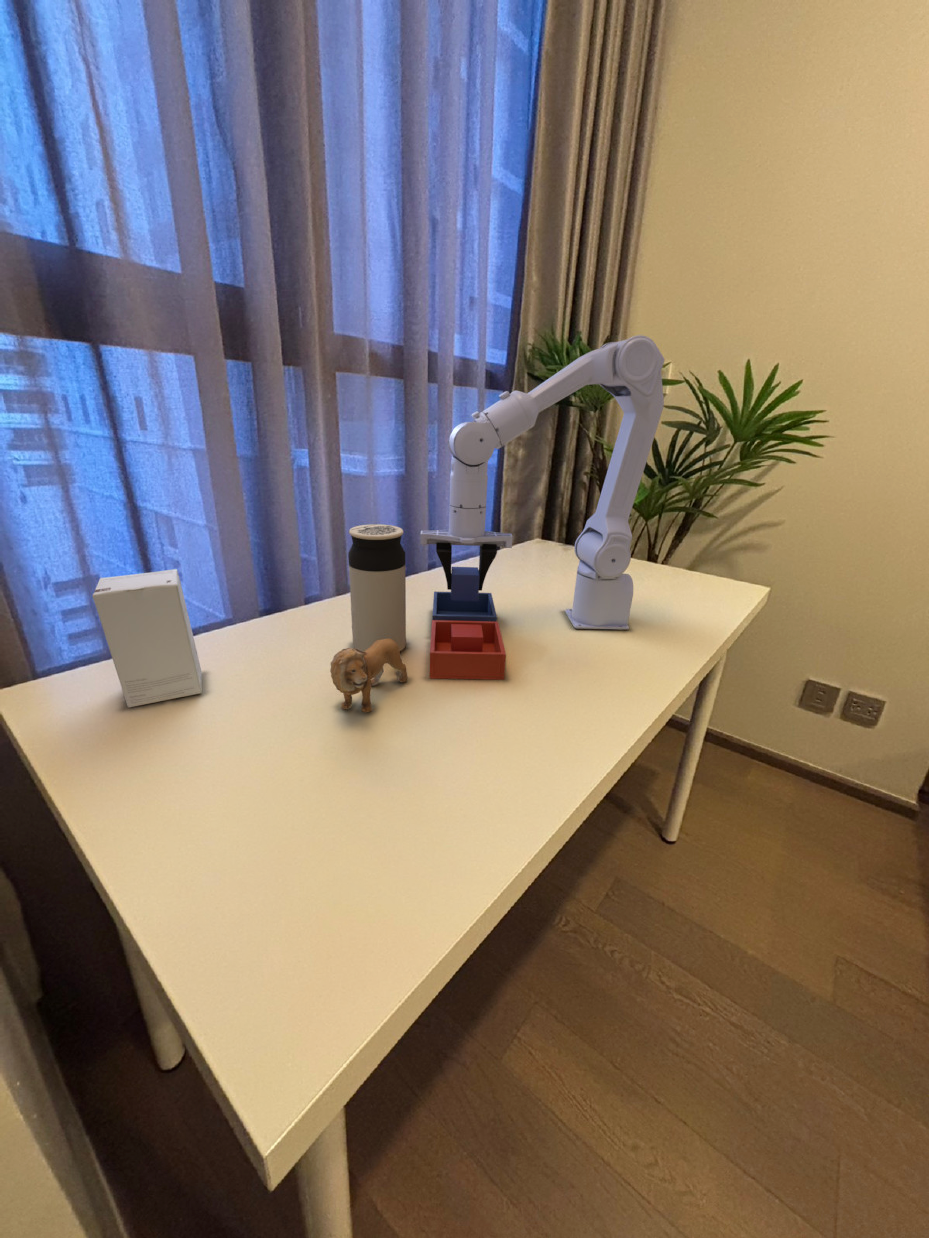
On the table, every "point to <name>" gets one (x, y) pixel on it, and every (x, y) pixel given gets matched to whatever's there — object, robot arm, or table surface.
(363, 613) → the travel mug
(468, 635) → the red block
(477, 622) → the red bin
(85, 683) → the table surface
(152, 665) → the cosmetic box
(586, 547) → the robot arm
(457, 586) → the blue block
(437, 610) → the blue bin
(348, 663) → the lion figurine
